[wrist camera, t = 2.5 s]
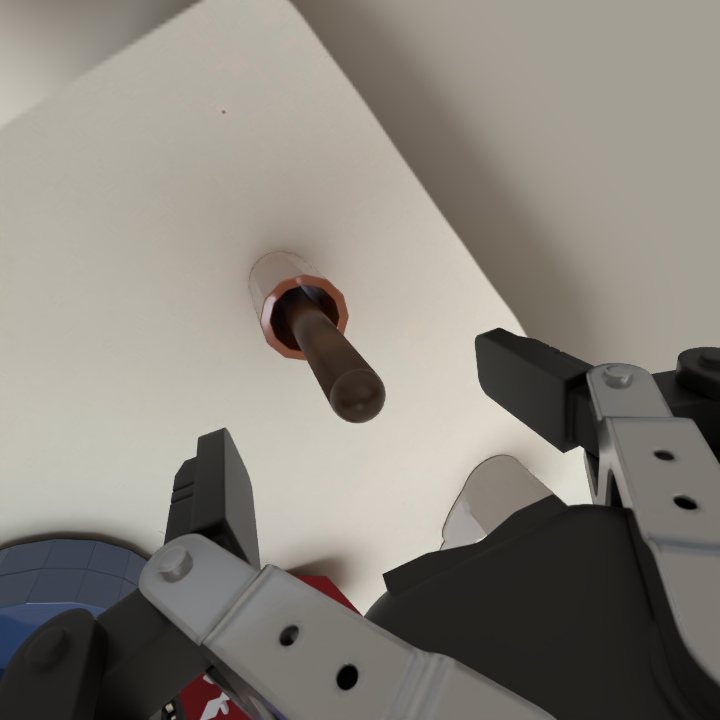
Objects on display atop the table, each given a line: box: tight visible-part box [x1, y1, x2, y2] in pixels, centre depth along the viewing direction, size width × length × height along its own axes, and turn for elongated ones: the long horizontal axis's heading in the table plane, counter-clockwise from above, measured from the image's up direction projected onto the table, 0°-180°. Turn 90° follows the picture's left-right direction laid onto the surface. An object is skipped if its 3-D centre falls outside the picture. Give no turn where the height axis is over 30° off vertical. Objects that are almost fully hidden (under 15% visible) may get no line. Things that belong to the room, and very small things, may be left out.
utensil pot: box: [249, 252, 348, 361], centre depth 24 cm, size 4×4×9 cm
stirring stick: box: [276, 286, 386, 423], centre depth 20 cm, size 2×2×18 cm
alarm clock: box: [179, 576, 362, 720], centre depth 30 cm, size 15×9×20 cm, turn 96°
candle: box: [441, 455, 568, 550], centre depth 35 cm, size 7×14×20 cm, turn 156°
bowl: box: [0, 539, 148, 681], centre depth 29 cm, size 16×16×6 cm
